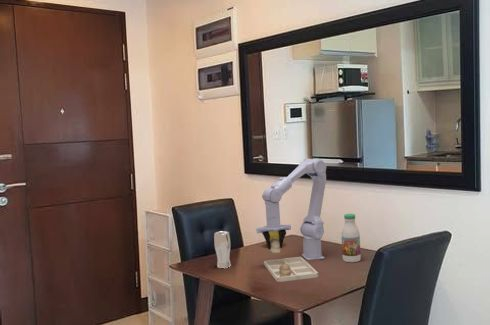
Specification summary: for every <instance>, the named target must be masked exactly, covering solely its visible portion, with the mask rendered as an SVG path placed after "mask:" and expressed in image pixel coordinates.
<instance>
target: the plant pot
mask: <svg viewBox="0 0 490 325" xmlns="http://www.w3.org/2000/svg"><path fill="white" fill-rule="evenodd" d="M266 226H267V225H265V226H263V227H266ZM269 234H270V241H271V240H272V239H274V238H275V239H278V240H279V234H278V231H273V232H269Z"/></svg>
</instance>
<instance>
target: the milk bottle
mask: <svg viewBox="0 0 490 325" xmlns="http://www.w3.org/2000/svg"><path fill="white" fill-rule="evenodd" d="M343 218H344V225H343V227H342V230H341V251H342V252H341V253H342V261H343V262H345V263H357V262H358V263H359V262H360V261H361V258H362V255H361V254H362V252H361V237H360V231H359V228H358V227H357V224H356V215H355V214H354V213H346V214H344V215H343Z"/></svg>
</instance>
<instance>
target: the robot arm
mask: <svg viewBox="0 0 490 325" xmlns="http://www.w3.org/2000/svg"><path fill="white" fill-rule="evenodd" d="M326 170H327V164H326V163H325V161H324V160H323V159H321V158H317V159H316V158H315V159H314V158H308V157H307V158H304V159H303V160H302V161H301V162H299V165H298V166H296V168H295V169H294V170H292V172H291V173H289V174H288V176H283V177H282V176H281V177H279V178H278V181H276V182H275V183H273V184H272V185H270V187H267V188H266V189H264V190H263V193H262V195H261V197H262V200H263V201H264V204H265V217H266V225H265V226H266V227H264V226H261V227H256V234H262V236H263V237H264V240H265V243H266V245H267V249H268V250H270V249H271V247H270V234H269V232H273V231H278V234H279V241H280V249H283V243H284V241H285V237H286V235H287V231H292V224H281V215H280V214H281V212H280V201H281V200H282V197H283V195H284V194H286V193H287V192H288V191H289V190H290V189H292V187H293V183H294V182H295V181H297V180H299V179H300V178H301V177H302V176H304V175H305V174H307V175H308V176H310V178H311V179H312V186H311V193H310V200H309V204H308V212H307V216H305V217H304V218H303V220H302V223H301V226H300V229H299V231H300V233H301V235H302V236H303V240H302V245H303V246H302V247H303V248H302V250H303V253H302V254H301V257H302V258H303V259H304V260H305V261H309V260H317V259H318V260H324V259H325V256H323V254H322V241H321V239H322V237H323V236H324V234H325V229H324V221H323V219H322V218H321V214H322V213H321V212H322V207H323V201H324V195H325V190H326V189H325V188H326V182H327V173H326V172H327V171H326Z"/></svg>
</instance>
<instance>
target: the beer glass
mask: <svg viewBox="0 0 490 325" xmlns="http://www.w3.org/2000/svg"><path fill="white" fill-rule="evenodd" d="M213 234H214V235H213V239H214V242H213V243H214V250H215V254H216V258H217V263H216V268H217V269H221V268H224V269H228V267H229V268H231V267H232V265H231V260H230V254H231V236H230V231H225V230H220V231H216V232H214V233H213ZM230 266H231V267H230Z"/></svg>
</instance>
